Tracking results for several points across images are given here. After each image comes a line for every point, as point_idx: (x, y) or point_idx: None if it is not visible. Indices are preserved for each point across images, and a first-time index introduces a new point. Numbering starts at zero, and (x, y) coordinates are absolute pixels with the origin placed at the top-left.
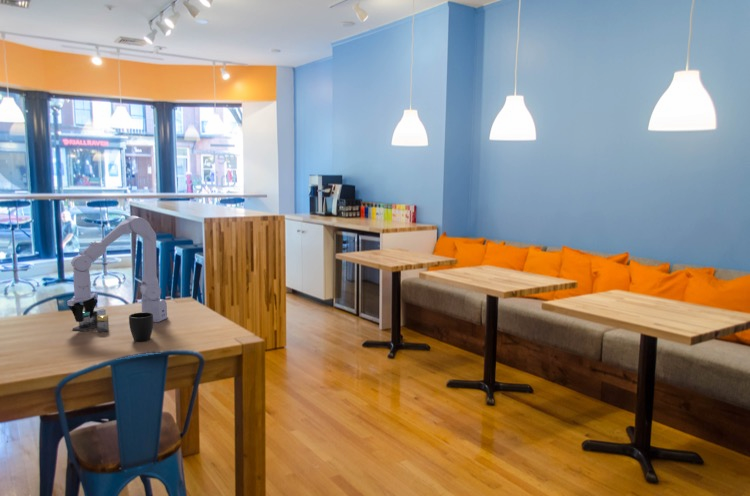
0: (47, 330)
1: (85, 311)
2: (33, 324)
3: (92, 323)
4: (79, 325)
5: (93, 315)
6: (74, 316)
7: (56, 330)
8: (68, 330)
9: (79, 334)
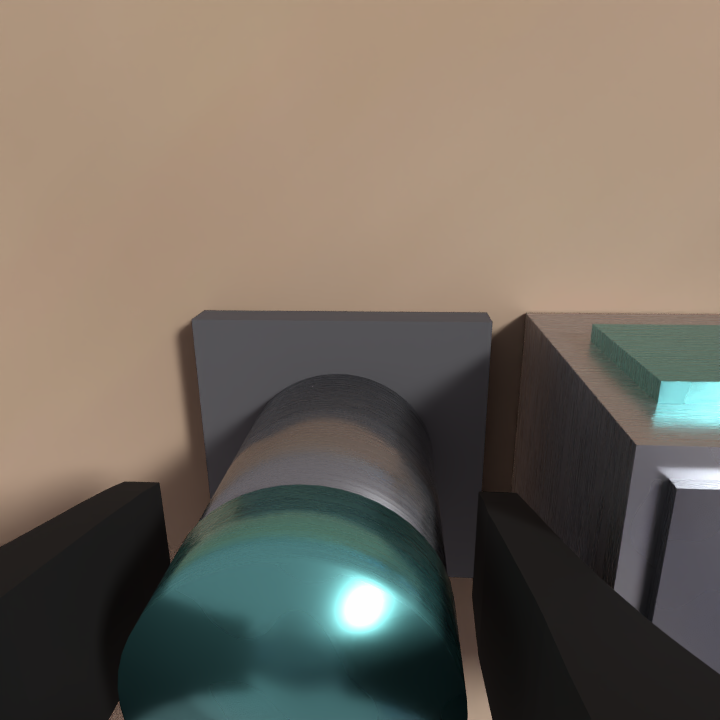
0: None
1: (354, 713)
2: None
3: (523, 492)
4: (245, 439)
5: None
6: (20, 544)
7: (90, 6)
8: (175, 243)
9: None
